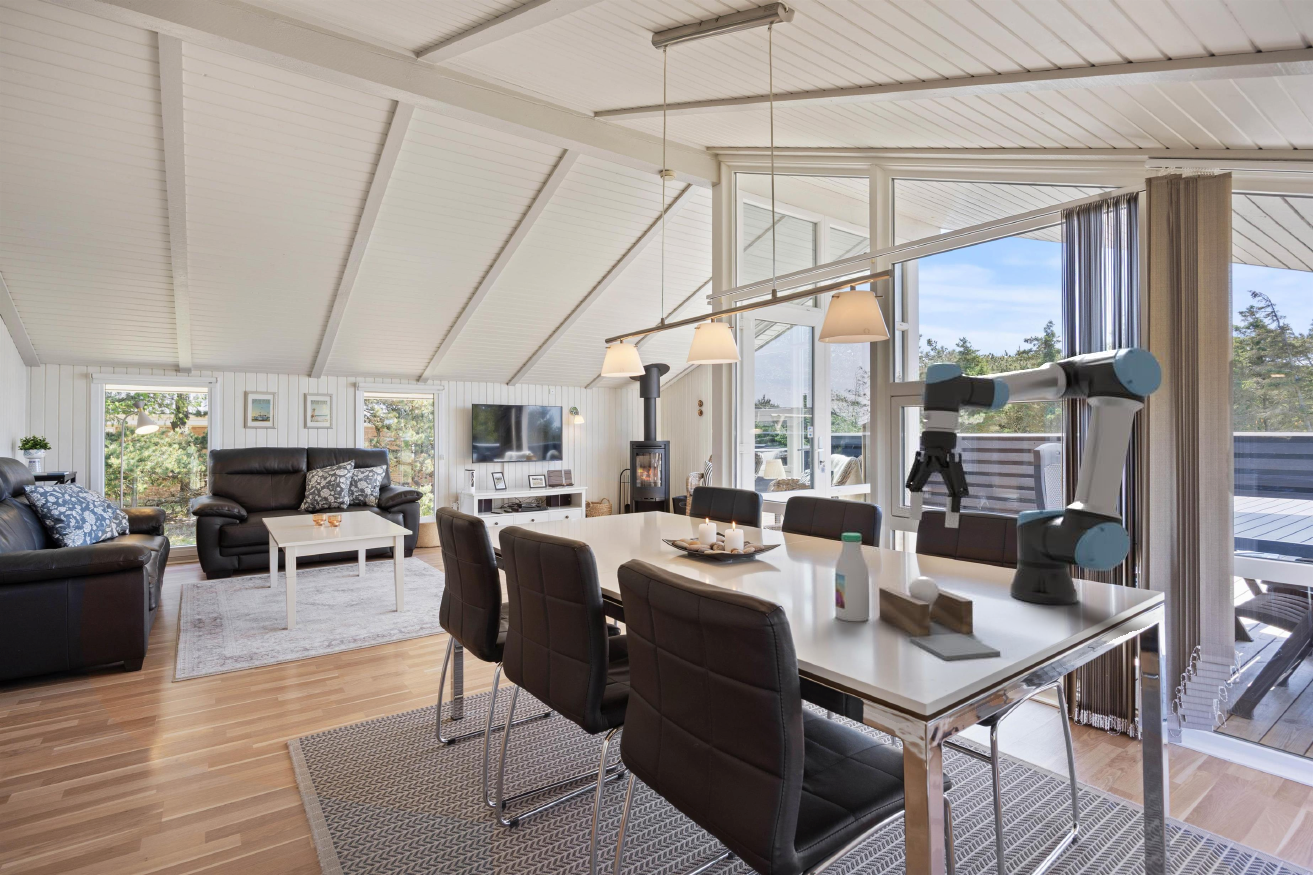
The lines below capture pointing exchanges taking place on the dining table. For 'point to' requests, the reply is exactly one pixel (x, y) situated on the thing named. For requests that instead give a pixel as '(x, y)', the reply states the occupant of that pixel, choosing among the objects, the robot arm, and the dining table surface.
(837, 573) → the milk bottle
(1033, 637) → the dining table surface
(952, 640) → the grey pad
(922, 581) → the lightbulb
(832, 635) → the dining table surface
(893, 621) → the walnut slot
